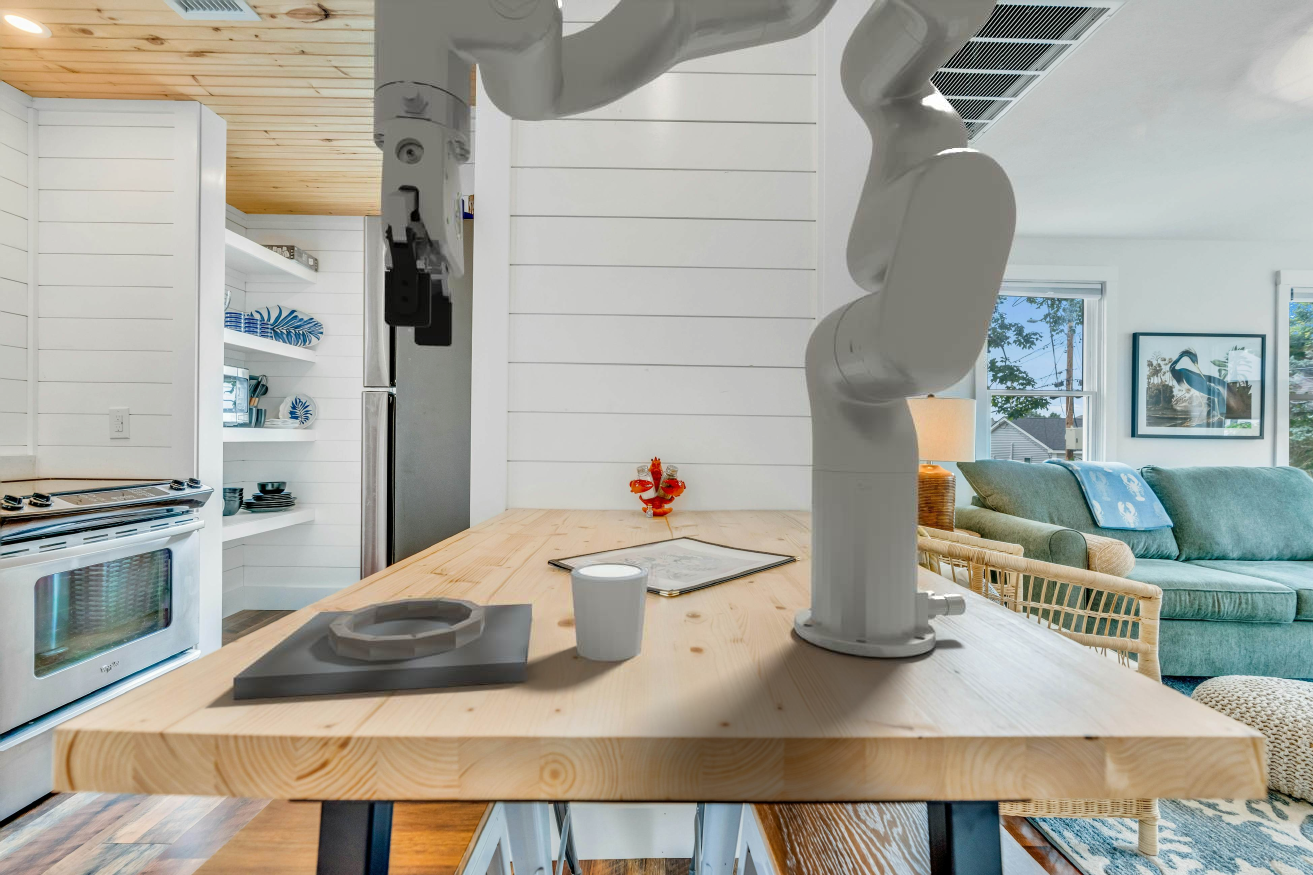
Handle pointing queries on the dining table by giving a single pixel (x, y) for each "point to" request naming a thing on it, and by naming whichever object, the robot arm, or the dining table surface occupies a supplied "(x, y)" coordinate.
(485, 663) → the ring board
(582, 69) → the robot arm
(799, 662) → the dining table surface
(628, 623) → the white cup
